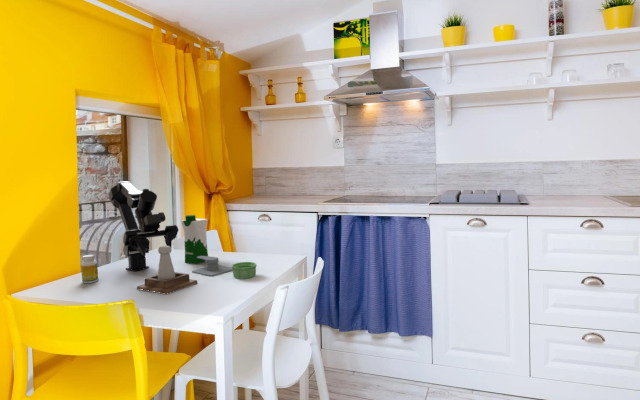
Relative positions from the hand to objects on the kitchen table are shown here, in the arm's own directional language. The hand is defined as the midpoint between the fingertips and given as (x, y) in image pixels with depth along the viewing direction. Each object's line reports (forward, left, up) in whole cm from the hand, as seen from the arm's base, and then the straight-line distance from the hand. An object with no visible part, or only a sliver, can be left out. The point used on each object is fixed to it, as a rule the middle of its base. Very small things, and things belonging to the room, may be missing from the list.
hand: (157, 253), depth 164 cm
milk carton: (-10, +29, -11) cm, 32 cm away
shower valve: (+7, +20, -11) cm, 24 cm away
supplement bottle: (-25, -10, -11) cm, 29 cm away
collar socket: (+7, -3, -10) cm, 13 cm away
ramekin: (+24, +18, -11) cm, 32 cm away
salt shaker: (+7, -3, -10) cm, 12 cm away
